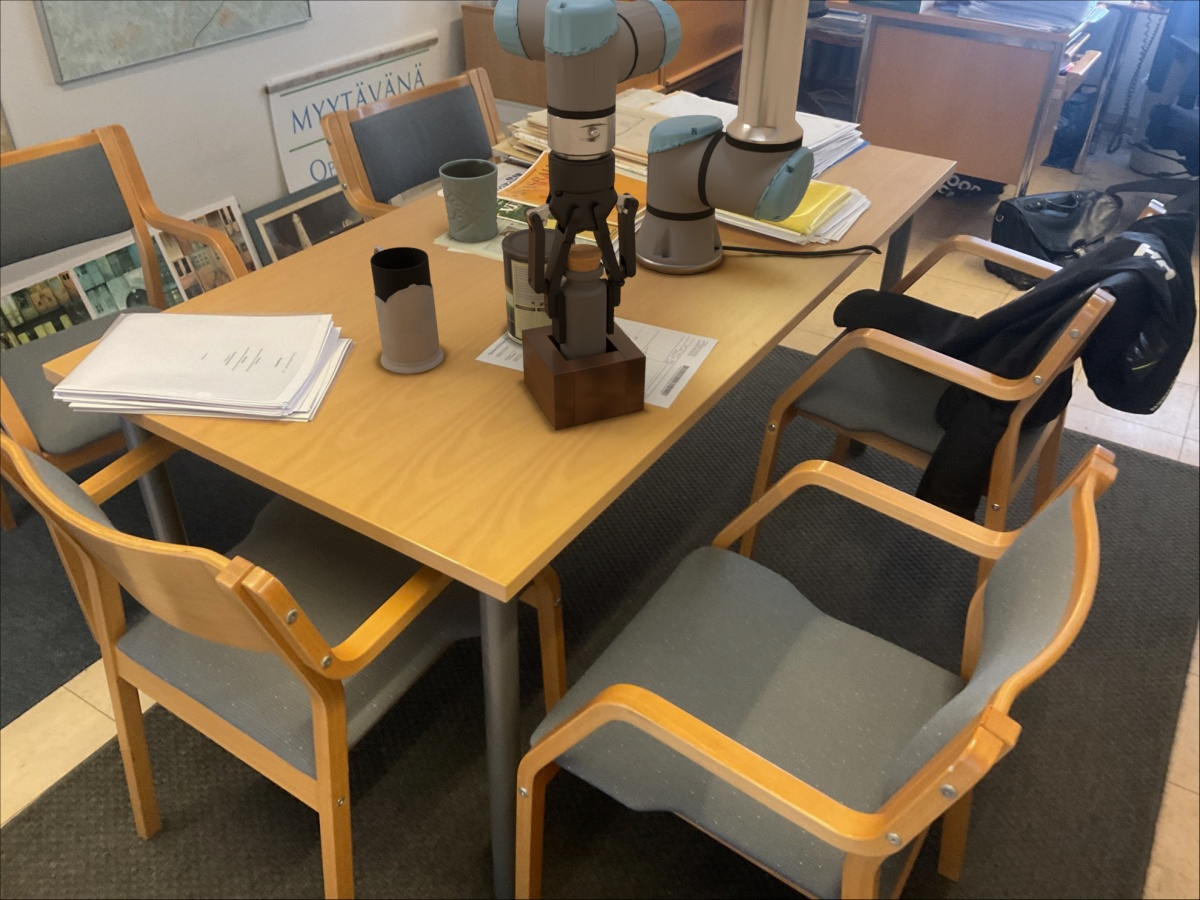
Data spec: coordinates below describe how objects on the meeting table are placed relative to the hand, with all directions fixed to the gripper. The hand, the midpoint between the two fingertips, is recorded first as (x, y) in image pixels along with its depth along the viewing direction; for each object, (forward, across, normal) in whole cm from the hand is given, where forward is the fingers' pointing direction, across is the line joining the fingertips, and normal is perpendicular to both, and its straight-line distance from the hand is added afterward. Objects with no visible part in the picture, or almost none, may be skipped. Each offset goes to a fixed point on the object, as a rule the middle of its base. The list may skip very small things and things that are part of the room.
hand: (583, 333), depth 113 cm
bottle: (+4, 0, 0) cm, 4 cm away
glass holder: (+9, -19, +21) cm, 30 cm away
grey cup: (+10, +2, +59) cm, 60 cm away
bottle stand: (+9, 0, 0) cm, 9 cm away
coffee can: (+9, +1, +19) cm, 21 cm away
